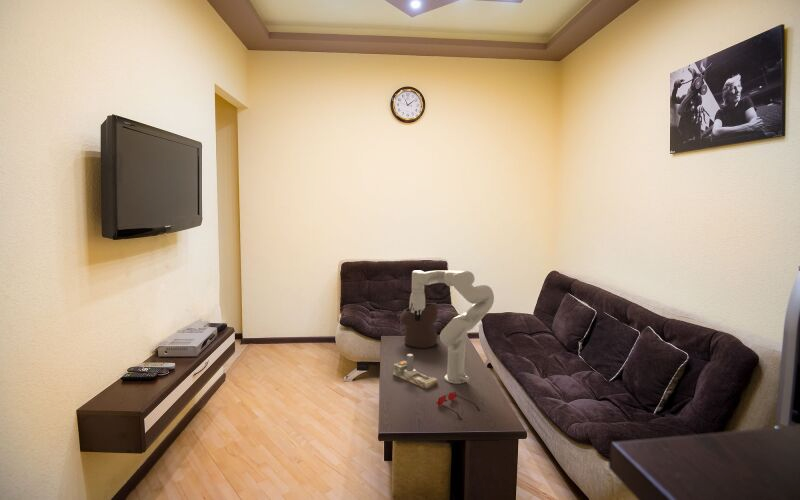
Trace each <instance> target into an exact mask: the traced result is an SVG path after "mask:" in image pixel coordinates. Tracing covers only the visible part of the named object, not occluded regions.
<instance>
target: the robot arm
mask: <svg viewBox="0 0 800 500" xmlns="http://www.w3.org/2000/svg"><path fill="white" fill-rule="evenodd" d="M475 278H476V277H475V275H474V273H473V272H471V271H469V270H429V271H423V270H420V269H419V270H413V271H412V272H411V293H410V297H409V306H408V308H409V309H410V310H411V312H412V313H414V314H415V321H420V314H421V312H422V311H423V310H424V308H425V304H426V294H425V286H430V285H433V284H445V285H446V286H448V287H453V288H454V289H455V290H456V291H457V292H458V293H459V294H460V295H461V296H462V297H463V299H465V300H466V301H467V302H468V303H470V304H472V305H471V306H470V307H469V308H468V309H467V310H466V311H465V312H464V313H461V314H459V315H457V316H455V317H453V318H452V319H451V320H450V321H449V322H447V324H446V325H445V327H444V328H442V330H441V331H440V334H439V340H440V342H441V343H442V344H443V345H444V346H447V366H446V367H447V368H446V369H447V371H446V372H447V373H446V374H445V375H444V377H443V378H444V381H446V382H447V383H450V384H455V385H458V384H464V383H468V382H469V381H470V380H469V379H470V377H469V376H467V372H465V359H466V358H465V357H466V356H465V353H466V350H465V349H466V342H467V338H468V332H469V331H471V330H473V329H474V328H475V327H476V326H477V324H478V323H479V322H480V321H481V320H482V319H483V318H484V317H485V316H486V315H487V314H488V313H489V311H490V309H491V308H492V307H493V305H494V302H495V296H494V295H495V294H494V291H493V288H492V287H490V286H489V285H487V284H480V285H477V286H476V285H475V286H474V285H473V284H474V282H475Z"/></svg>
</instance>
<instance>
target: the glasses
mask: <svg viewBox="0 0 800 500" xmlns="http://www.w3.org/2000/svg"><path fill="white" fill-rule="evenodd" d="M456 397H458V398H460V399H461V400H464V401H466V402H468V403H471V405H474V406H475V408H476V409H477V410H478V411H479V412H481V410H480V408H479V407H478V406H477V405H476V404H475V403H473V402H472V401H470V400H468V399H466V398H464V397H462V396H459V395H457V392H456V391H452V392H449V393H448V394H445V395H443V396H440V397H438V400H437V401H436V402H435V403H436V405H437V406H438V407H440V406H443V407H444V408H446V409H448V410H450V411H451V412H454V413H455V414H456V415H457V417H458V418H459V420H460V421H463V419H462V418H461V417H460V415H459V413H458V412H456V411H455V410H454V409H451V408H450V407H447V406H445V405H444V403H446V402H448V400H449V401H451V402H453V401H454V400H455V399H456ZM447 398H448V399H447Z"/></svg>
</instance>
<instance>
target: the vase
mask: <svg viewBox="0 0 800 500" xmlns="http://www.w3.org/2000/svg"><path fill="white" fill-rule="evenodd" d="M438 313H439V308H438V304H437V303H436V302H430V303H425V308H424V310H423V311H422V312H421V314H420V321H415V314H414V313H412V312H411V310H410V309H409V307H408V308H405V309H404V310H403V312H402V313H401V315H400V317H399V321H400V323H401V324H402V325H404V326H405V334H404V343H405V344H406V345H407V346H408V347H412V348H415V349H416V348H417V349H428V348H431V347H435V345H437V342H438V333H437V331H436V329H435V327H434V323H435V321H436V319H437V317H438Z"/></svg>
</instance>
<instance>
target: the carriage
mask: <svg viewBox="0 0 800 500" xmlns="http://www.w3.org/2000/svg"><path fill="white" fill-rule="evenodd" d="M414 358H415V357H414V354H412V353H407V354H406V361H407V369H405V370H404V373H405V374H407V375H409V376H413V375H416V372H417V369H415V368H414V361H415V360H414Z"/></svg>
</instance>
